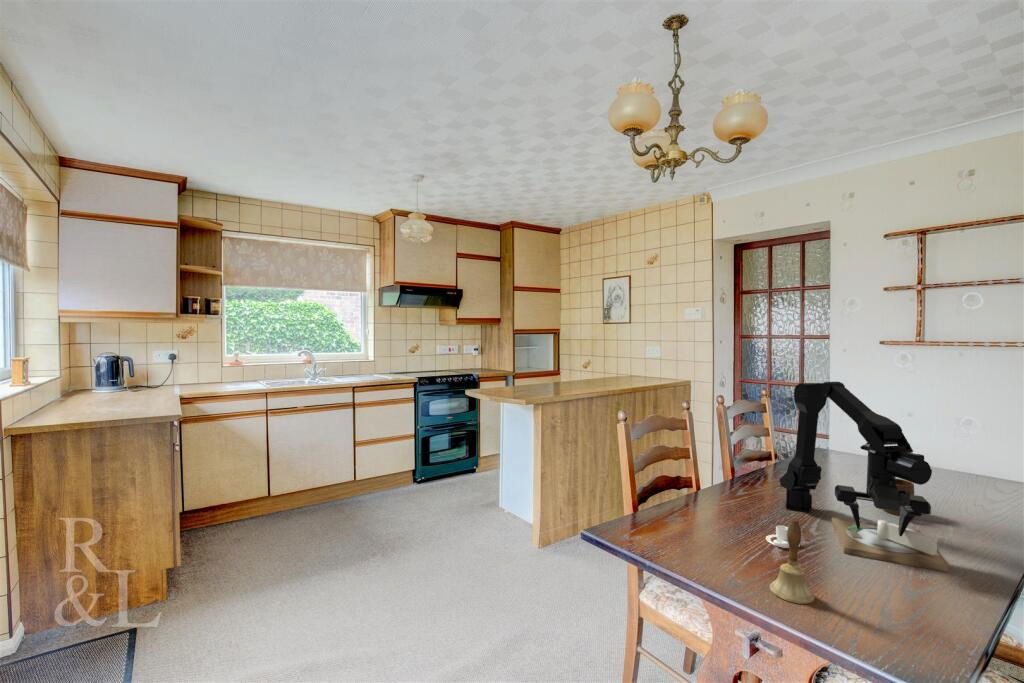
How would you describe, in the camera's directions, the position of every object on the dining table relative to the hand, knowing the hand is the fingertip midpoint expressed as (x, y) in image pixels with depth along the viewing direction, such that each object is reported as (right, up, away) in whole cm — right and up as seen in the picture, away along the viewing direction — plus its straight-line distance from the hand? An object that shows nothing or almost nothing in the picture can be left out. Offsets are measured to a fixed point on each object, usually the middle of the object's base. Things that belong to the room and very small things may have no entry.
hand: (878, 532), depth 122 cm
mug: (+23, -4, +24) cm, 33 cm away
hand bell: (-33, -6, -19) cm, 39 cm away
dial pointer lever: (+5, -3, +2) cm, 6 cm away
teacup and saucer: (-25, -5, +5) cm, 26 cm away
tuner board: (+4, -5, +3) cm, 7 cm away
